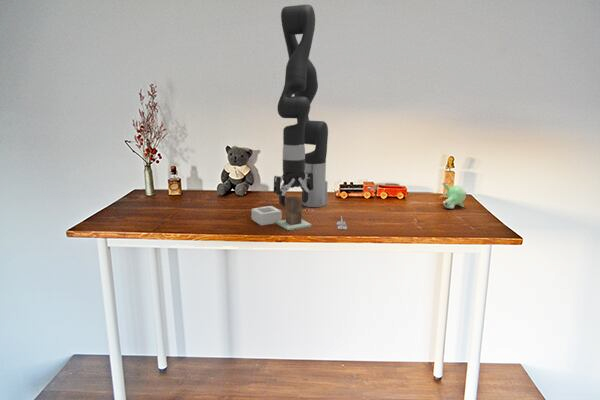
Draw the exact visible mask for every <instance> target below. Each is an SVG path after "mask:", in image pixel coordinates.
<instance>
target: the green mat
mask: <svg viewBox="0 0 600 400" xmlns="http://www.w3.org/2000/svg"><path fill="white" fill-rule="evenodd" d="M275 224H277V225H278V226H280V227H281V228H282V229H284V230H286V229H287V231H288V230H290V231H294V230H295V229H296V230H300V229H304V228H311V227H312V224H311V223H310V222H307V221H305V220H304V219H302V218H301V224H296V225H290V224H288V223H286V219H282V220H281V221H276V223H275ZM296 230H295V231H296Z"/></svg>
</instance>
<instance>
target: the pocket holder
mask: <svg viewBox="0 0 600 400" xmlns="http://www.w3.org/2000/svg"><path fill="white" fill-rule="evenodd" d="M250 211H251V220H252V221H253V222H255V223H257V224H258V225H259V226H266V225H272V224H276V221H281V220H283V219H282V218H283V216H282V215H283V213H282V210H281V209H278V208H276V207H275V206H273V205H268V206H267V205H266V206H260V207H254V208H251V210H250Z"/></svg>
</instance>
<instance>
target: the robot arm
mask: <svg viewBox="0 0 600 400" xmlns="http://www.w3.org/2000/svg"><path fill="white" fill-rule="evenodd" d="M280 20H281V28H282V32H283V36H284V41H285V45H286V50H287V55H288V56H287V57H288V61H287V63H286V68H285V79H284V85H283V89H282V91H281V95H280V97H279V100H278V102H277V103H278V104H277V107H276V108H277V114H278V115H279V117H281V118H282V119H296V123H295V124H290V125H286V126H284V128H283V131H282V133H283V134H282V135H283V136H282V137H283V138H282V141H283V144H282V175H279V176H278V175H274V177H273V193H274V194H276V195H278V203H279V205H280V206H282V207H286V194H287V191H289V190H290V189H291V188H292V189H294V188H295V187H296V188H300V189H301V198H302V206H304V207H309V208H319V207H324V206H325V205H328V180H326V178H327V176H326V168H327V165H326V164H327V161H326V160H327V155H328V153H327V152H328V141H329V127H328V124H327V122H325V121H324V120H310V119H309V114H310V111H311V104H312V102H313V100H314V98H315V96H316V95H317V92H318V89H319V81H318V74H317V70H316V67H315V66H314V64H313V62H312V61H311V60H310V59H309V58H310V54H311V53H310V52H311V48H312V45H313V44H312V43H313V40H314V39H313V38H314V35H315V29H316V28H315V27H316V13H315V10H314V7H313V6H312V5H310V4H299V5H296V4H295V5H289V6H284V7H283V8H282V9H281V13H280ZM296 35H301V36H302V37H301V39H300V40H299V43H298V40H297V36H296ZM293 95H294V96H293ZM306 145H312V146H315V147H314V150H311V151H310V152H306V149H305V148H306V147H305V146H306ZM282 181H283V182H282ZM281 183H282V185H281Z"/></svg>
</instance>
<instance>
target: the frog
mask: <svg viewBox="0 0 600 400" xmlns="http://www.w3.org/2000/svg"><path fill="white" fill-rule="evenodd" d="M442 186H443V187H444V188H445V189H446V191H447V192H446V193H444V194H443V193H442V194H441V195H440V196H438V197H439V199H441V198H444V197H447V199H445V200H443V201H442V202H443V203H442V204H443V205H444V207H445V208H446V209H448V210H452V209H454V208H455V206H456V205H457V204H458V205H459V206H460V207H461V208H464V207H465V206H464V203H462V202H463V201H465V199H466V196H467V192H466V190H465V189H464V188H463V187H462V186H461V185H453V186H451V187H450V186H449V184H448V183H447V182H446V181H443V182H442Z"/></svg>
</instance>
